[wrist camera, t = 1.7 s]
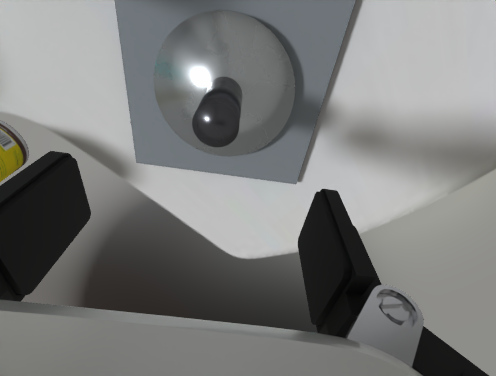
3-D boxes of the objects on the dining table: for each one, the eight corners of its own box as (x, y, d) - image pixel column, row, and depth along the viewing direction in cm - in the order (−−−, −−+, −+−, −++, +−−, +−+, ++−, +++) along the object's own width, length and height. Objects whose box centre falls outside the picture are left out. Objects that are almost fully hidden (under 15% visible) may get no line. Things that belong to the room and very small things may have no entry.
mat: (110, -62, 16) (106, -63, 15) (357, -14, 17) (360, -14, 16) (138, 159, 25) (136, 162, 25) (295, 180, 26) (296, 184, 26)
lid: (150, -4, 17) (102, -5, 11) (311, 24, 18) (336, 36, 12) (161, 143, 23) (133, 188, 18) (277, 159, 24) (284, 206, 19)
